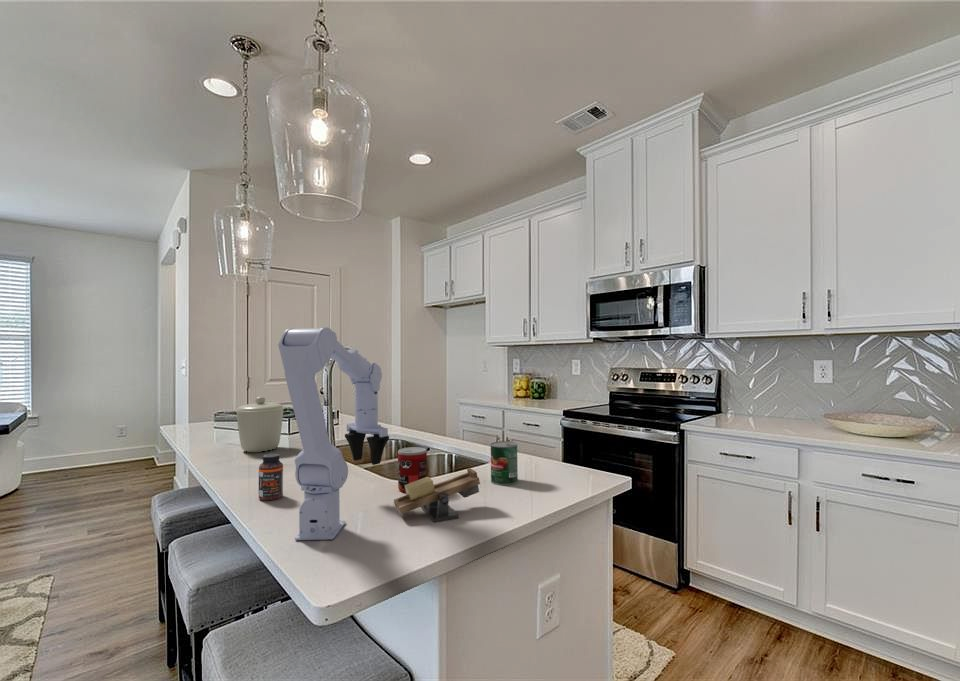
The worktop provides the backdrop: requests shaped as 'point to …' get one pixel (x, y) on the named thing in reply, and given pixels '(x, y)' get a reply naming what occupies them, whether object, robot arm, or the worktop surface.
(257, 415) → the canister
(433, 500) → the beam
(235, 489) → the worktop surface
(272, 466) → the supplement bottle
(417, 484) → the rider
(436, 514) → the stand
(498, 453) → the canned tomato
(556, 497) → the worktop surface
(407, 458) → the canned food
